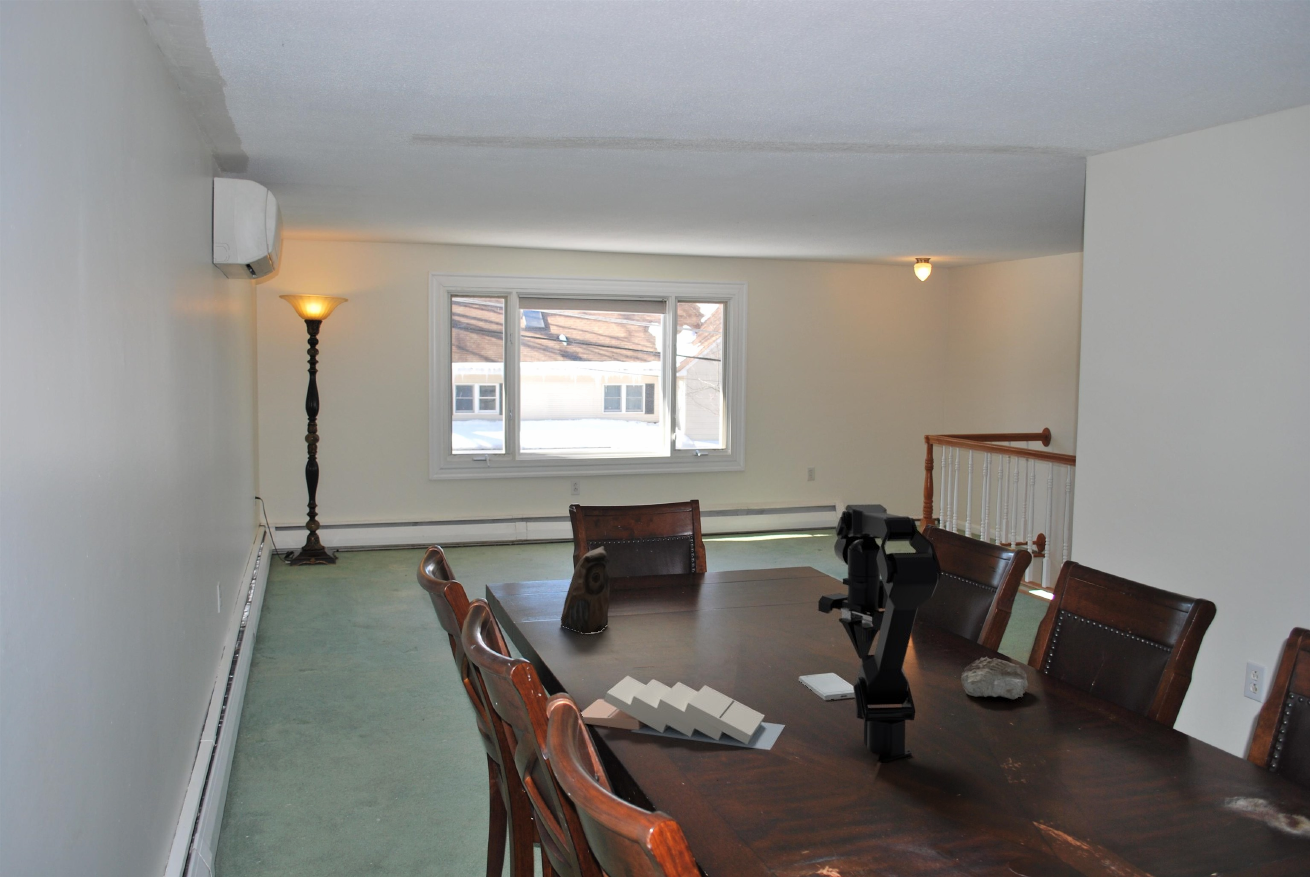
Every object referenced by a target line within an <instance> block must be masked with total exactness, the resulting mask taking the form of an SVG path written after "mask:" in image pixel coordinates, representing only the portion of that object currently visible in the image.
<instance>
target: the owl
mask: <svg viewBox="0 0 1310 877" xmlns="http://www.w3.org/2000/svg"><path fill="white" fill-rule="evenodd" d="M604 546H605V545H602V546H600V547H598V548H596V549H593V550H590V551H588V552H586V553H585V554H584V555H583V556H582V557H581V558H580V559H579V561H578V563H577V565H576V566H575V568H574V572H573V575H572V578H571V581H570V583H569V587H568V590H567V592H566V596H565V600H564V604H563V608H562V614H561V617H560V626H564V627H567V628H569V629H573V630H576V631H579V632H582V633H591V632H598V631H601V630H602V629H603V628H605V626H606V625H608V622H609V608H610V602H611V601H610V599H609V597H610V574H609V563H610V561H611V559H609V557H608V553H607V551H606V550H605V547H604ZM608 626H609V625H608ZM569 629H568V630H569ZM579 632H578V633H579Z"/></svg>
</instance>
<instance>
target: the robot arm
mask: <svg viewBox="0 0 1310 877" xmlns="http://www.w3.org/2000/svg"><path fill="white" fill-rule="evenodd" d="M835 534H836V538H837V539H836V541H835V544H834V547H833V548H834V550H833V551H834V553H835V556H836V557H837V558H838V559H839V560H840V561H841V562H843V563H844V564H845V565H846V566H847V577H845V578H842V584H843V585H845V586H847V594H845V593H841V592H837V593H833V594H832V593H831V594H830V593H829V594H825V595H822V596H821V597H820V598H819V599H818V601H817V602H818V605H817V606H818V612H821V613H825V614H830V613H832V612H833V610H834V609H836V610H838V611H841V618H838V622H839V623H841V625H842V627H843V628H844V630H845V632H846V633H847V637H849V639H850V642H851V644H852V645H853V648H854V650H855V652H856V655H857V656H858V659H860V660H861V662H860V667H859V669H858V676H857V677H856V678H855V682H854V684H853V685H852V686H853V689H854V696H855V697H854V701H855V709H856V710H855V711H856V713H855V714H856V719H860V720H862V721H863V731H864V732H863V736H864V737H863V743H864V745H865V746H866V747H867V749H868V750H869V751H870V752H872V753H873V754H876V755H879V756H878V759H877V760H878V761H880V762H883V763H888V762H891V761H895V760H899V759H902V758H906V757H908V756H912V755H913V751H911V750H910V749H907V748H906V721H915V717H916V707H915V703H914V699H913V696H912V692H911V688H910V683H909V680H908V678H907V676H906V672H905V669H904V662H905V660H906V655H907V652H908V648H909V644H910V640H911V636H912V631H913V628H914V625H915V620H916V617H917V614H918V609H919V607H920V606H922V605H923V604H924V603H925V602H927V601H929V599H931V598H932V597H933V596H934V593H935V591H936V589H937V585H938V583H939V582H940V580H941V575H942V568H941V564H940V560H939V558H938V554H937V552H936V548H935V546H934V544H933V543H932V542H931V541H930V540H929V539H928V538H927V537H926V536H925V535H924V534H923V533H922V532H920V530H919V529H918V527H917V524H916V521H915V519H914V518H913V517H909V515H905V516H900V515H896V514H891V513H888V510H887V508H886V507H884V506H883V504H877V503H876V504H872V503H871V504H847V505H846V506H845V510H843V511H842V512H841V516H840V518H839V520H838V523H837V525H836V528H835ZM877 539H880V540H881V544H880V545H879V544H878V543H877V542H878V541H877ZM889 542H890V543H892V542H908V544H909V546H910V547H912V549H914V551H916V552H889V553H887V551H886V546H887V543H889ZM880 609H882V610H880ZM878 633H879V634H878ZM877 635H878V639H877V643H876V647H875V650H874V653H873V654H869V653H870V651H871V648H872V646H873V643H874V640H875V638H876V636H877ZM882 705H883V706H885V705H888V707H869V706H882ZM889 705H890V707H889ZM892 705H901V706H895V707H894V706H893V707H891V706H892Z"/></svg>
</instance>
